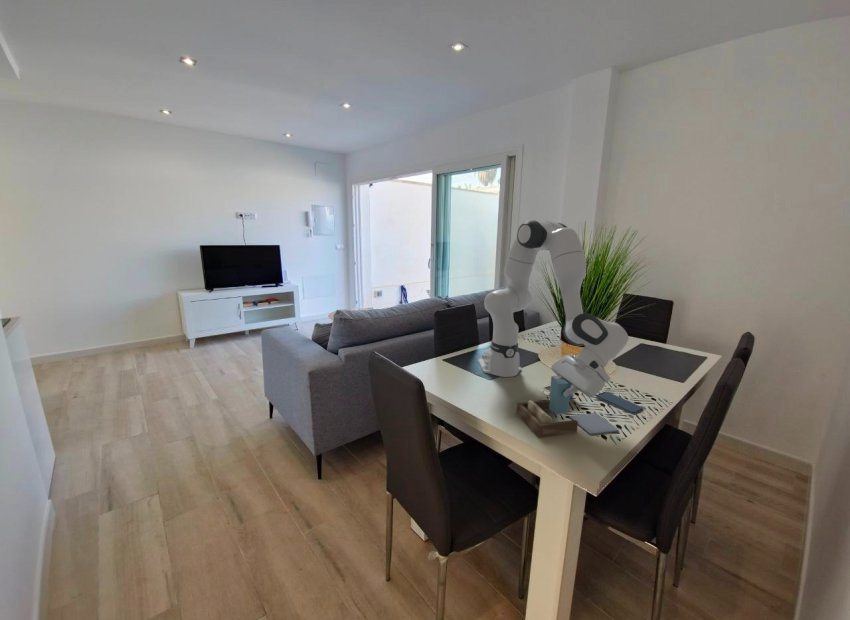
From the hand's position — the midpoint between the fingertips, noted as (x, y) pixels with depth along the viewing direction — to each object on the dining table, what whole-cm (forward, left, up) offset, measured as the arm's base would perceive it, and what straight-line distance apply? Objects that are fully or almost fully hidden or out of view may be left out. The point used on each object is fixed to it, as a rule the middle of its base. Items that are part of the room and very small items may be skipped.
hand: (558, 391), depth 118 cm
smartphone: (-7, +32, -12) cm, 35 cm away
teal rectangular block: (0, +1, -7) cm, 7 cm away
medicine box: (-16, +13, -11) cm, 23 cm away
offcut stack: (0, -7, -11) cm, 13 cm away
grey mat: (+4, +12, -11) cm, 17 cm away
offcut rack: (0, -4, -11) cm, 12 cm away
